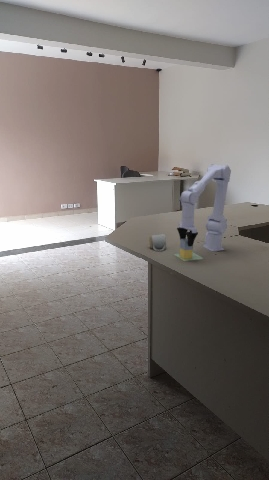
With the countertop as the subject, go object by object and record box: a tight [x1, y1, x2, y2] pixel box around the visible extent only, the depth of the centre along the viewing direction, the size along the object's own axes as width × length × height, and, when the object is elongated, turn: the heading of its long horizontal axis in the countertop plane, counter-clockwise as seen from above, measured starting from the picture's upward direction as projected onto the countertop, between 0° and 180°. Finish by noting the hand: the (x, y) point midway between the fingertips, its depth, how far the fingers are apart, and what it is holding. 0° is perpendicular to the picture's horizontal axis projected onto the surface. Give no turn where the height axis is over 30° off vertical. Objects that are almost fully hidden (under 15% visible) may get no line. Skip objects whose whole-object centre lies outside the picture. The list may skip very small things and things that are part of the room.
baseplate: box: [173, 251, 204, 262], centre depth 182 cm, size 11×11×1 cm
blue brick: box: [179, 237, 194, 250], centre depth 178 cm, size 4×4×4 cm
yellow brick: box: [179, 247, 194, 259], centre depth 179 cm, size 4×4×4 cm
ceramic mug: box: [149, 233, 167, 252], centre depth 193 cm, size 11×8×8 cm
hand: (186, 243), depth 178 cm, fingers open, 7 cm apart
